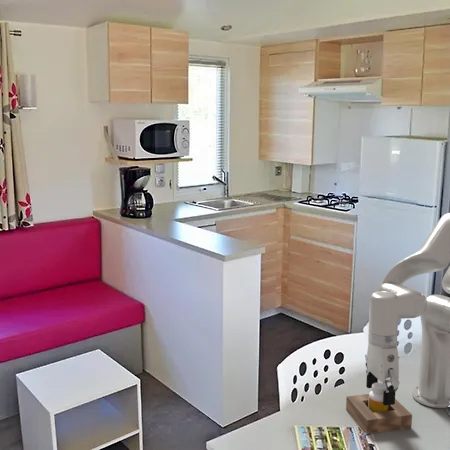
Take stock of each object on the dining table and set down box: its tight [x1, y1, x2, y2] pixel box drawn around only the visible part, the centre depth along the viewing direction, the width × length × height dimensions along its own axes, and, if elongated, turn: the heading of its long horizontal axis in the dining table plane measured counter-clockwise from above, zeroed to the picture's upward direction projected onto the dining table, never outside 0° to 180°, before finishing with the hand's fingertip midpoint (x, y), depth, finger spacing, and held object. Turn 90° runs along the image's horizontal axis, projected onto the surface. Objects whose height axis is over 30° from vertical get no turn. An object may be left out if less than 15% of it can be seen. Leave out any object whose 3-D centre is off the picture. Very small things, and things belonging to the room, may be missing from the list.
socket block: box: [345, 393, 413, 435], centre depth 154 cm, size 13×13×4 cm
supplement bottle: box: [368, 382, 389, 413], centre depth 154 cm, size 5×5×10 cm
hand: (380, 395), depth 154 cm, fingers open, 9 cm apart
